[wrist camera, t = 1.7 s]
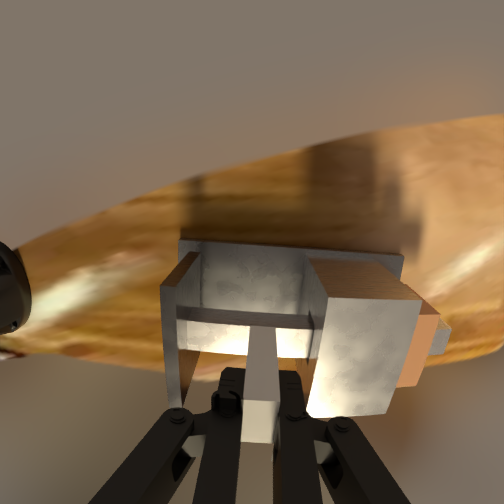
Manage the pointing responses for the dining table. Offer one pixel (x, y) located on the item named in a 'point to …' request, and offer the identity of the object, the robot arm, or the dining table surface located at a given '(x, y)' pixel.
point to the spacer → (419, 344)
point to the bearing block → (322, 313)
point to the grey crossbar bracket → (226, 329)
